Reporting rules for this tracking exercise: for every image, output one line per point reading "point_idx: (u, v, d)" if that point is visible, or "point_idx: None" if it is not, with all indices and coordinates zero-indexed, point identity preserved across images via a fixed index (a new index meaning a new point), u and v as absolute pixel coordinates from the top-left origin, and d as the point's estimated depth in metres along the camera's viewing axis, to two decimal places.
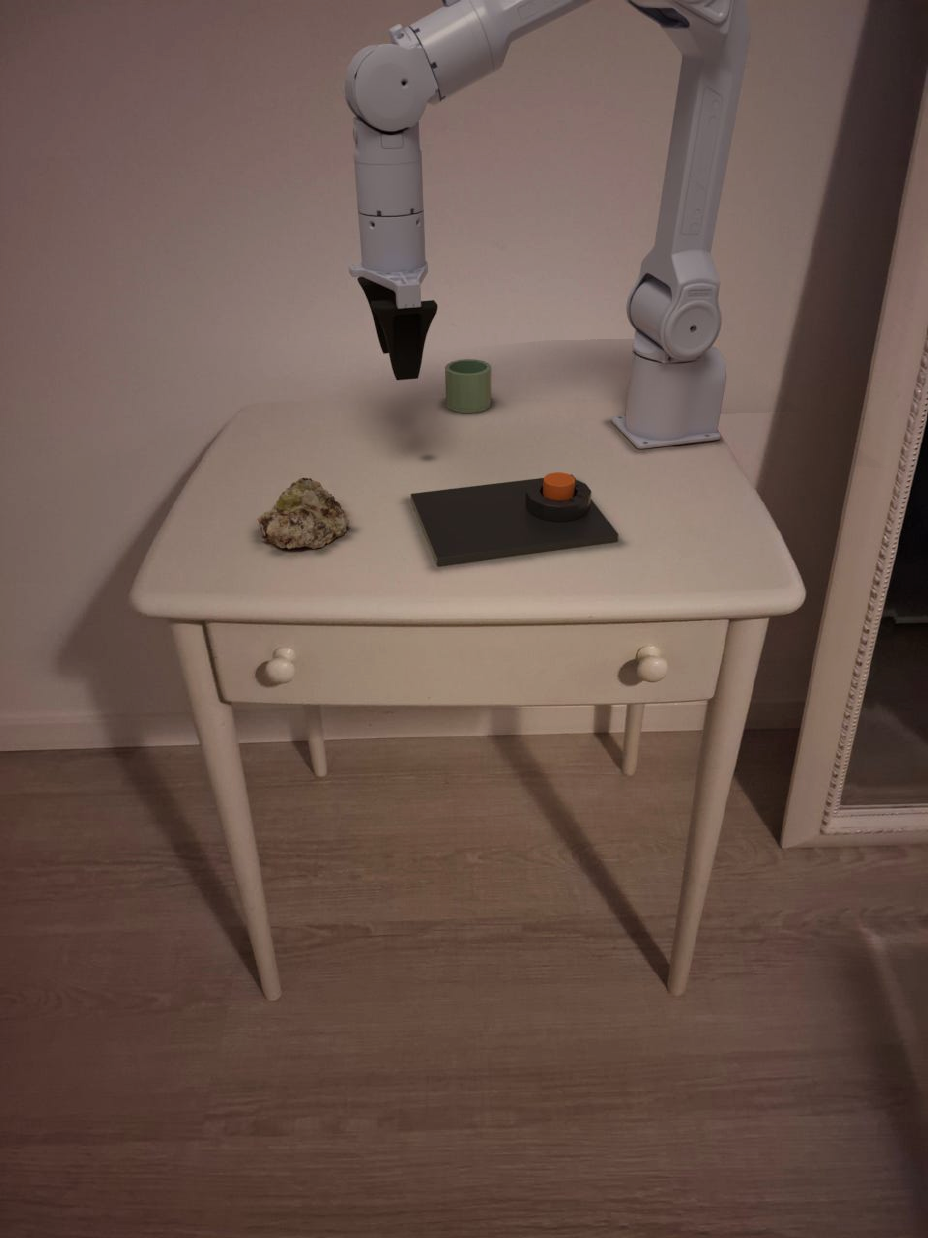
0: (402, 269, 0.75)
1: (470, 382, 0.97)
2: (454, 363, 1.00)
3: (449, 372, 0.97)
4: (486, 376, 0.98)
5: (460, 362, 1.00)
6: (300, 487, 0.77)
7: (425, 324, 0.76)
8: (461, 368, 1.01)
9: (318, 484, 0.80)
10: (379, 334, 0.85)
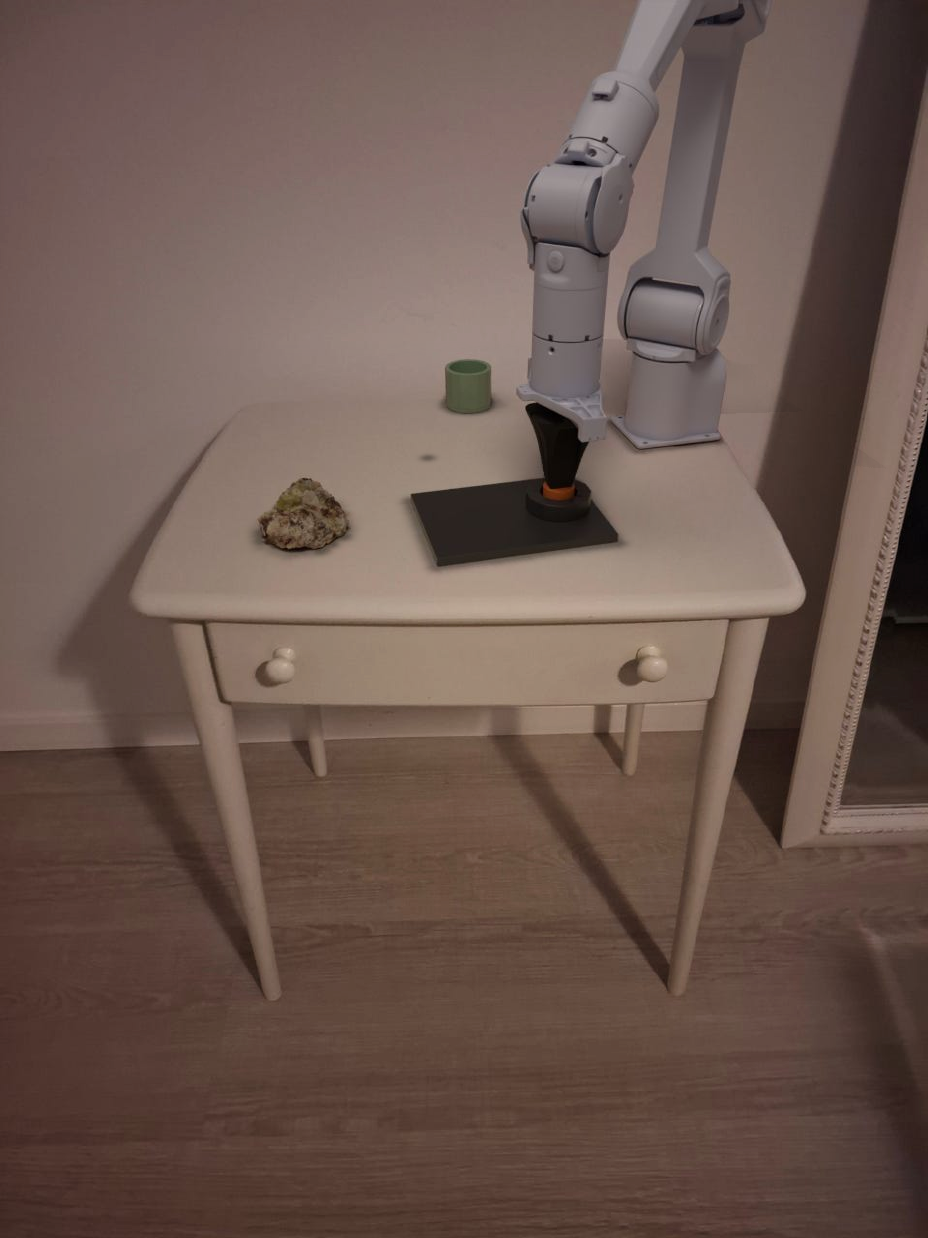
0: (579, 395, 0.70)
1: (470, 382, 0.97)
2: (454, 363, 1.00)
3: (449, 372, 0.97)
4: (486, 376, 0.98)
5: (460, 362, 1.00)
6: (300, 487, 0.77)
7: None
8: (461, 368, 1.01)
9: (318, 484, 0.80)
10: None
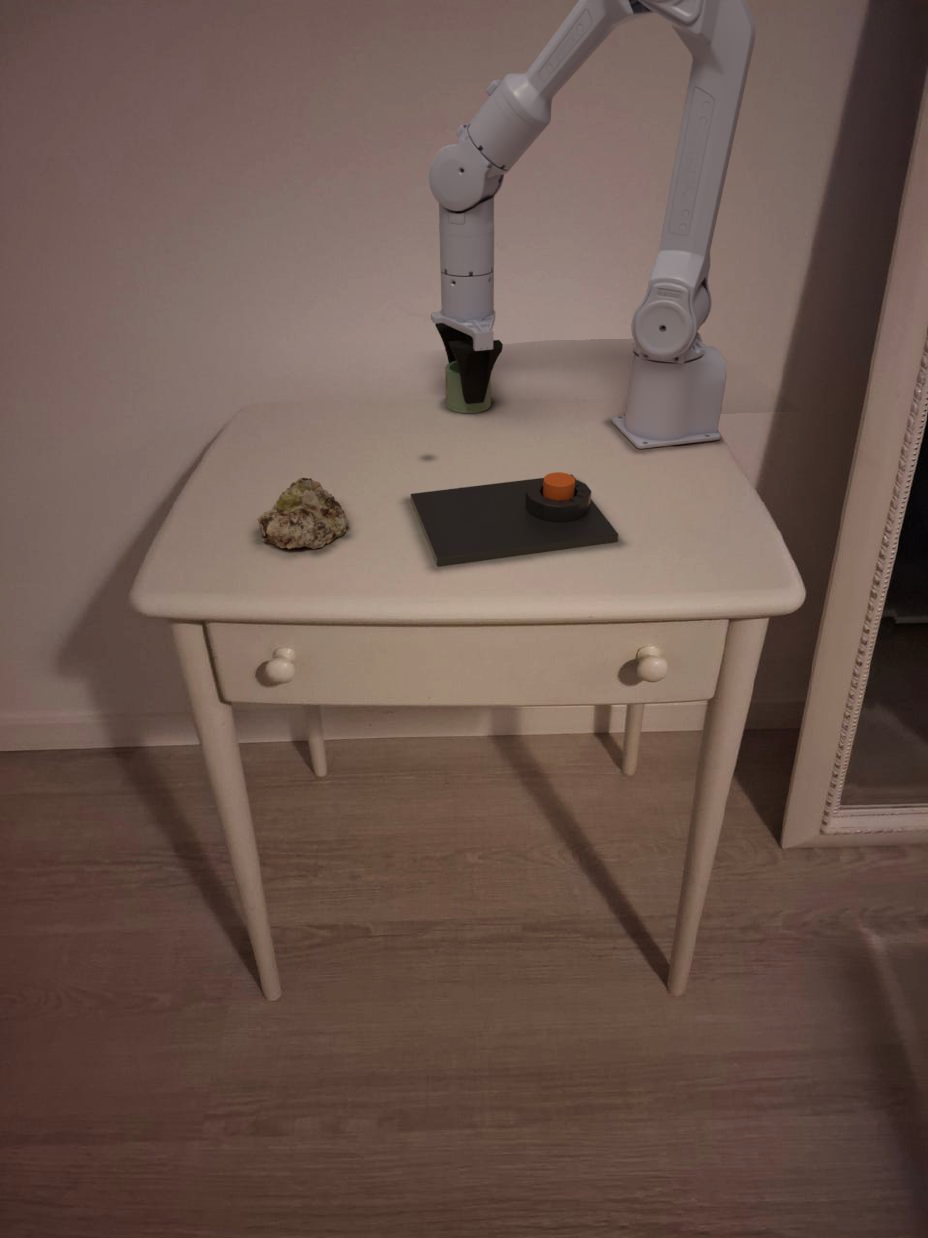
0: (476, 317, 0.93)
1: None
2: (454, 363, 1.00)
3: (449, 372, 0.97)
4: None
5: None
6: (300, 487, 0.77)
7: (492, 359, 0.94)
8: None
9: (318, 484, 0.80)
10: None
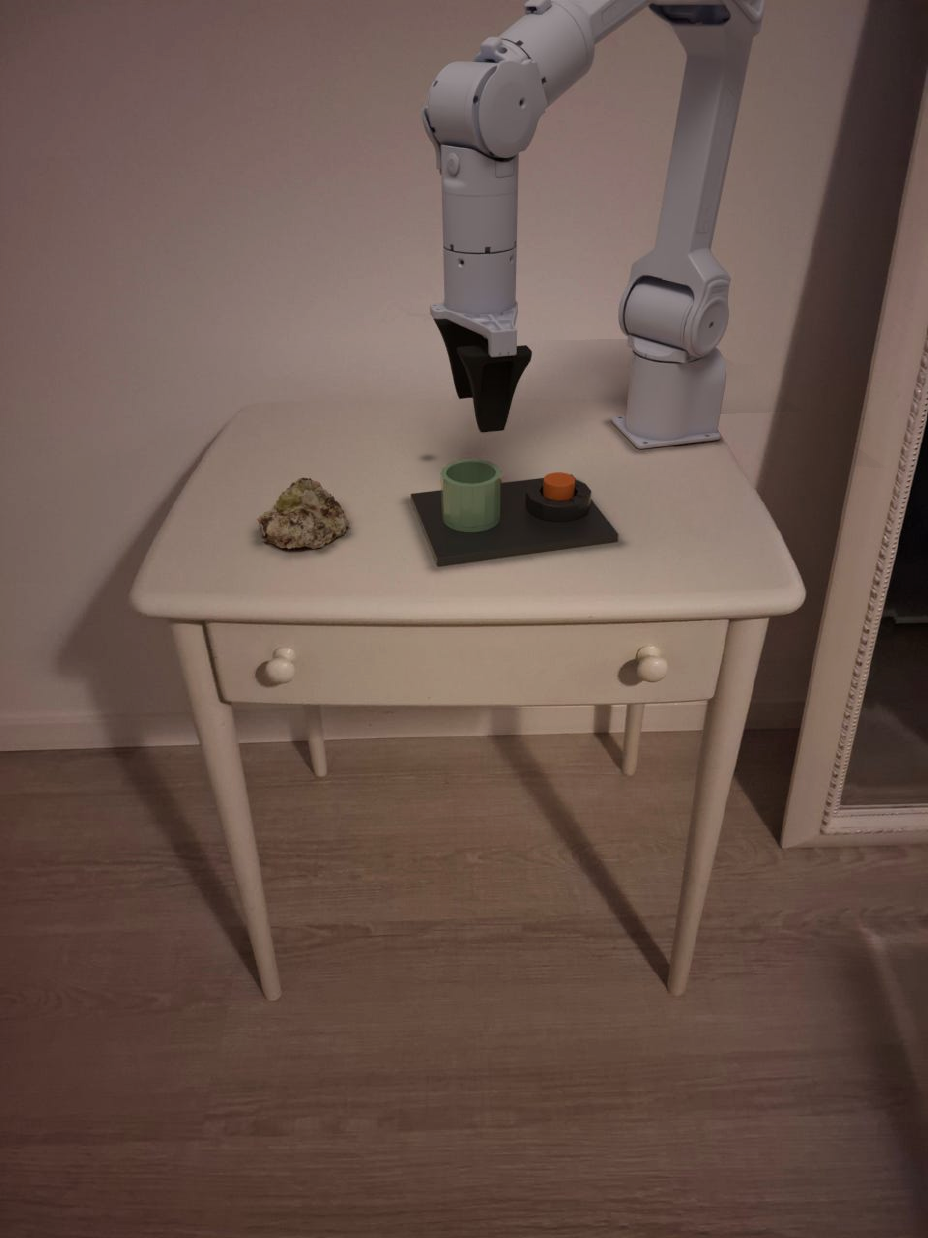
0: (492, 311, 0.67)
1: (474, 495, 0.73)
2: (452, 466, 0.76)
3: (446, 481, 0.73)
4: (495, 486, 0.74)
5: (461, 463, 0.76)
6: (300, 487, 0.77)
7: (517, 372, 0.68)
8: (462, 471, 0.77)
9: (318, 484, 0.80)
10: (456, 378, 0.76)
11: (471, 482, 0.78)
